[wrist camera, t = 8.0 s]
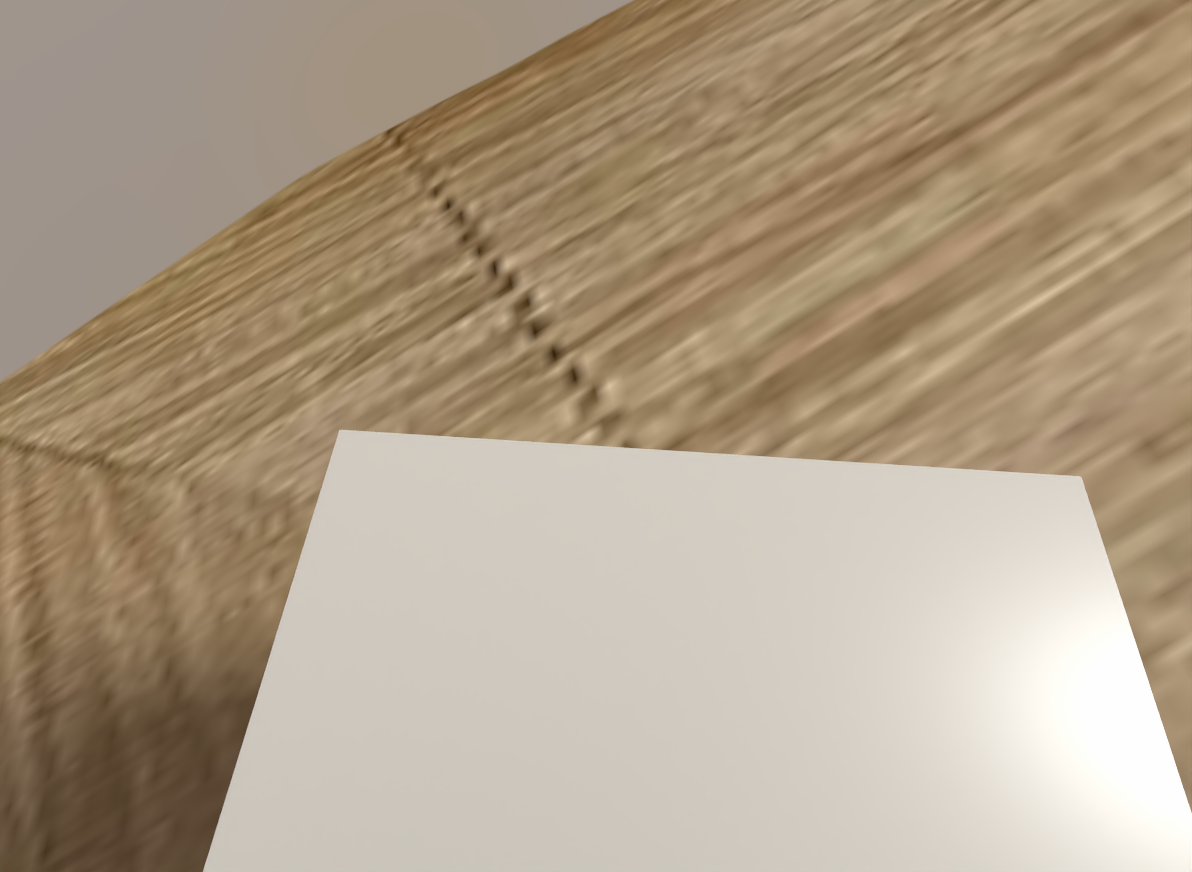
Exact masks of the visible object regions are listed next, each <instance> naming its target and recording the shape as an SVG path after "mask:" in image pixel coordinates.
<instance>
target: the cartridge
mask: <svg viewBox="0 0 1192 872" xmlns="http://www.w3.org/2000/svg"><path fill="white" fill-rule="evenodd" d="M203 872H1192V813H1191V810H1190V807H1189V804H1188V801H1187V798H1186V795H1185V792H1184V789H1183V786H1182V783H1181V780H1180V777H1179V774H1178V771H1177V768H1176V765H1175V761H1174V758H1173V755H1172V752H1171V749H1170V746H1169V743H1168V740H1167V737H1166V734H1165V731H1164V728H1163V725H1162V722H1161V719H1160V716H1159V713H1158V710H1157V707H1156V704H1155V700H1154V697H1153V694H1152V691H1151V688H1150V685H1149V682H1148V679H1147V676H1146V673H1145V670H1144V667H1143V664H1142V661H1141V658H1140V655H1139V652H1138V649H1137V646H1136V643H1135V640H1134V636H1133V633H1132V630H1131V627H1130V624H1129V621H1128V618H1127V615H1126V612H1125V609H1124V606H1123V603H1122V600H1121V597H1120V594H1119V591H1118V588H1117V585H1116V582H1115V579H1114V575H1113V572H1112V569H1111V566H1110V563H1109V560H1108V557H1107V554H1106V551H1105V548H1104V545H1103V542H1102V539H1101V536H1100V533H1099V530H1098V527H1097V524H1096V521H1095V518H1094V515H1093V511H1092V508H1091V505H1090V502H1089V499H1088V496H1087V493H1086V490H1085V487H1084V484H1083V481H1082V478H1081V477H1080V476H1064V475H1048V474H1032V473H1016V472H1001V471H985V470H969V469H953V468H937V467H921V466H906V465H890V464H874V463H858V462H842V461H826V460H810V459H795V458H779V457H763V456H747V455H731V454H715V453H700V452H684V451H668V450H652V449H636V448H620V447H605V446H589V445H573V444H557V443H541V442H525V441H509V440H494V439H478V438H462V437H446V436H430V435H414V434H399V433H383V432H367V431H351V430H339V434H338V437H337V440H336V443H335V447H334V450H333V453H332V456H331V459H330V463H329V466H328V469H327V472H326V476H325V479H324V482H323V485H322V489H321V492H320V495H319V498H318V501H317V505H316V508H315V511H314V514H313V518H312V521H311V524H310V527H309V531H308V534H307V537H306V540H305V543H304V547H303V550H302V553H301V556H300V560H299V563H298V566H297V569H296V573H295V576H294V579H293V582H292V585H291V589H290V592H289V595H288V598H287V602H286V605H285V608H284V611H283V615H282V618H281V621H280V624H279V627H278V631H277V634H276V637H275V640H274V644H273V647H272V650H271V653H270V657H269V660H268V663H267V666H266V669H265V673H264V676H263V679H262V682H261V686H260V689H259V692H258V695H257V699H256V702H255V705H254V708H253V711H252V715H251V718H250V721H249V724H248V728H247V731H246V734H245V737H244V741H243V744H242V747H241V750H240V753H239V757H238V760H237V763H236V766H235V770H234V773H233V776H232V779H231V783H230V786H229V789H228V792H227V795H226V799H225V802H224V805H223V808H222V812H221V815H220V818H219V821H218V825H217V828H216V831H215V834H214V837H213V841H212V844H211V847H210V850H209V854H208V857H207V860H206V863H205V867H204V870H203Z"/></svg>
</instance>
